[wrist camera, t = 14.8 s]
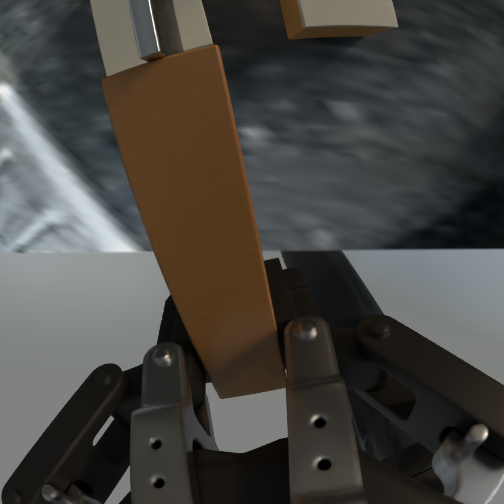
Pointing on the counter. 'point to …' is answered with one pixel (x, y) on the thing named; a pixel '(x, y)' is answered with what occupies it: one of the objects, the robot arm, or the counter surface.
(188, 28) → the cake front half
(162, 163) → the knife
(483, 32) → the counter surface
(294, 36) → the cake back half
